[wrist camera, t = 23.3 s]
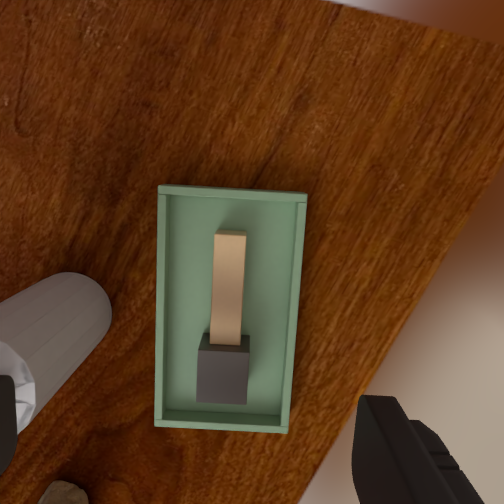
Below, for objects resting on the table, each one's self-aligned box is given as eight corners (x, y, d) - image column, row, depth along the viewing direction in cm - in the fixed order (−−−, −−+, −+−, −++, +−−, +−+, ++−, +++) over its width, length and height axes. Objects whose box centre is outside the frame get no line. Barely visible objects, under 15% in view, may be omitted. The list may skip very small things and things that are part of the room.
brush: (207, 228, 32) (202, 235, 28) (256, 231, 32) (257, 238, 28) (200, 380, 34) (195, 402, 31) (247, 383, 34) (246, 405, 31)
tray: (163, 183, 31) (157, 185, 29) (304, 192, 32) (307, 194, 30) (159, 411, 35) (154, 426, 33) (285, 418, 35) (287, 433, 33)
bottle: (29, 269, 33) (-175, 366, 17) (112, 274, 33) (-18, 374, 17) (33, 346, 34) (-156, 502, 18) (112, 350, 34) (-8, 510, 18)
